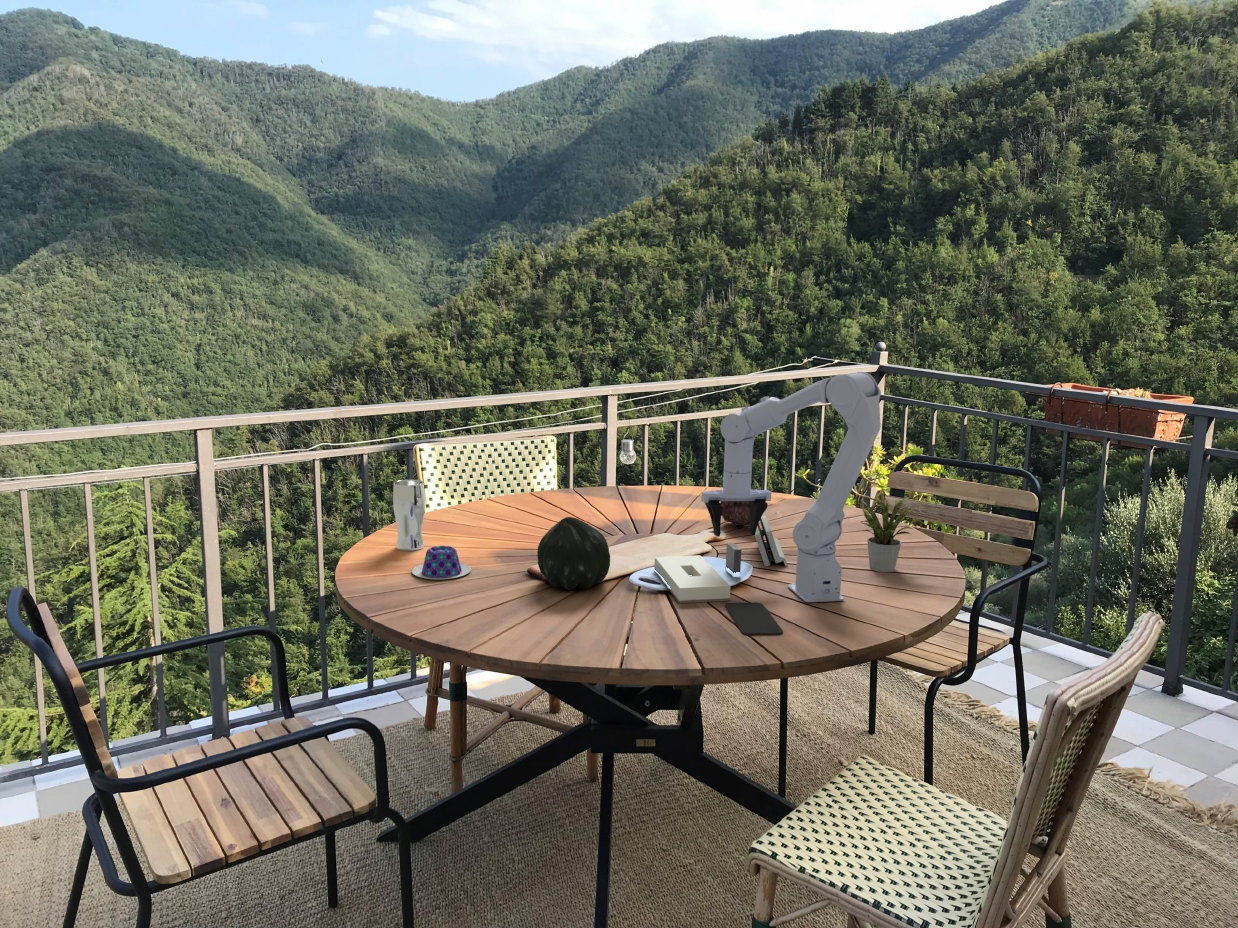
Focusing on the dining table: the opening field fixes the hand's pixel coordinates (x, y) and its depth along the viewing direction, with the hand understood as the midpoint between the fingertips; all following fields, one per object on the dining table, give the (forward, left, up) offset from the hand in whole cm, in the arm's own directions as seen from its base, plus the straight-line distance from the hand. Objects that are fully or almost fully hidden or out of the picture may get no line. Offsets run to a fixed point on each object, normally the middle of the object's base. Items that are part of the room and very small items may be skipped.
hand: (734, 534), depth 181 cm
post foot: (-6, +11, -8) cm, 15 cm away
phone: (-26, +5, -9) cm, 28 cm away
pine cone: (+36, -14, -9) cm, 40 cm away
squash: (-2, +34, -9) cm, 35 cm away
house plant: (-1, -35, -9) cm, 36 cm away
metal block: (0, 0, -8) cm, 9 cm away
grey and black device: (+12, -12, -9) cm, 19 cm away
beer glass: (+28, +67, -9) cm, 73 cm away
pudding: (+9, +60, -9) cm, 61 cm away
